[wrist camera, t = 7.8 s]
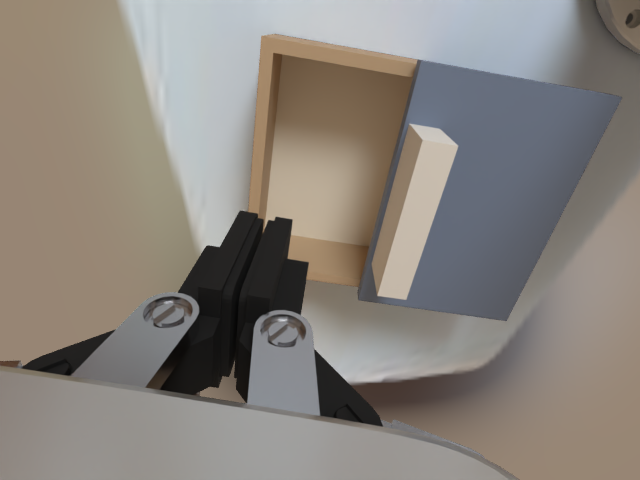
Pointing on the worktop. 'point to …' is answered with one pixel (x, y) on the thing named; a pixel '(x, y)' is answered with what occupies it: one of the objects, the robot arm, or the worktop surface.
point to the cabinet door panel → (477, 187)
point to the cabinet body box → (326, 147)
